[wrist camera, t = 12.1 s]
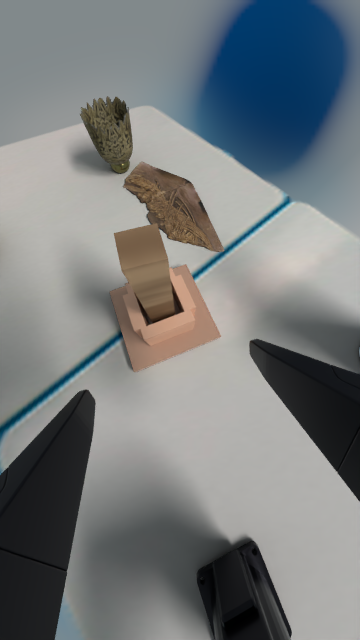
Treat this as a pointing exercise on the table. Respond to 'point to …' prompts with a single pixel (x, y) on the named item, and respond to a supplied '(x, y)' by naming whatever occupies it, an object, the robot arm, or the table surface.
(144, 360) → the terracotta holder
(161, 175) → the wooden fragment
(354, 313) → the table surface
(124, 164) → the cup
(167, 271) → the brown wooden block
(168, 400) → the table surface
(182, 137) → the table surface
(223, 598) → the robot arm
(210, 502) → the table surface
